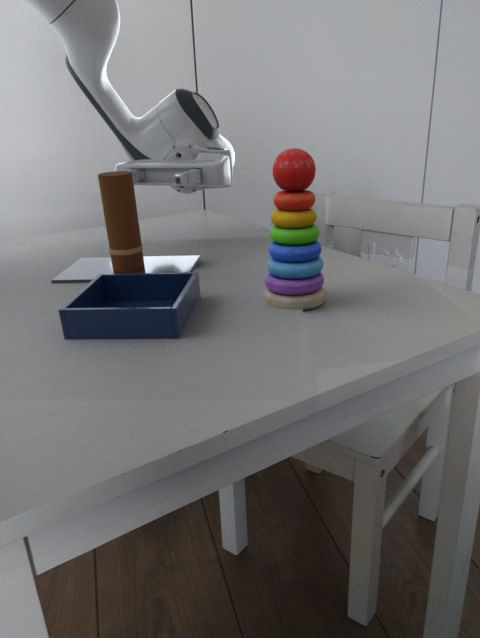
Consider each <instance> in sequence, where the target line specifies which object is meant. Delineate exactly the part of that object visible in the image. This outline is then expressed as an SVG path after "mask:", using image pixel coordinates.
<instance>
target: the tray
mask: <svg viewBox="0 0 480 638" xmlns="http://www.w3.org/2000/svg"><path fill="white" fill-rule="evenodd" d="M200 284H201V283H200V274H199V272H198V271H192V272H182V273H127V274H99V275H97V276H96V277H95V278H94V279H93V280H92V281H91V282H90V283H86V285H85V286H83V288H82V289H81V290H79V291H78V292H77V293H76V294H75V295H73V296H72V298H70V299H69V300H68V301H67V302H66V303H65V304H63V306H61V307H60V308H59V309H58V314H59V320H60V324H61V329H62V334H63V339H64V340H68V341H69V340H70V341H71V340H74V341H75V340H179V339H181V337H182V335H183V333H184V332H185V329H186V328H187V325H188V323H189V322H190V320H191V318H192V316H193V314H194V312H195V311H196V308H197V306H198V305H199V303H200V301H201V299H202V298H201V297H202V295H201V285H200Z"/></svg>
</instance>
